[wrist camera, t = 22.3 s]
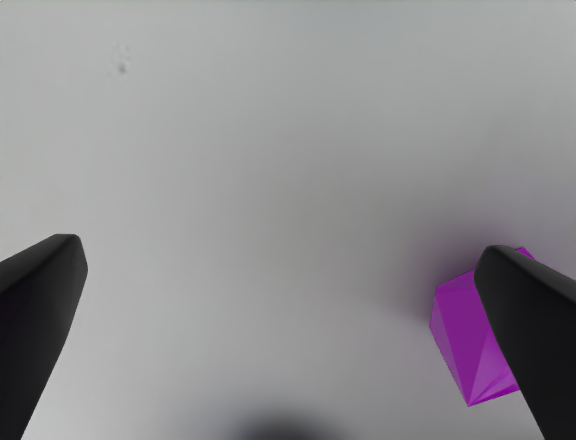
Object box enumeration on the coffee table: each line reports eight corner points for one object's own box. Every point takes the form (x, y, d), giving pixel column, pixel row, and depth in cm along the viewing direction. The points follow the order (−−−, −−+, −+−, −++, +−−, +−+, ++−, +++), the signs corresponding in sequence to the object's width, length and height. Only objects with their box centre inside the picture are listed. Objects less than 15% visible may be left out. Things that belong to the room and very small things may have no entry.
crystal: (540, 339, 19) (594, 404, 15) (430, 347, 20) (450, 410, 16) (533, 244, 18) (590, 284, 14) (418, 259, 19) (436, 300, 15)
